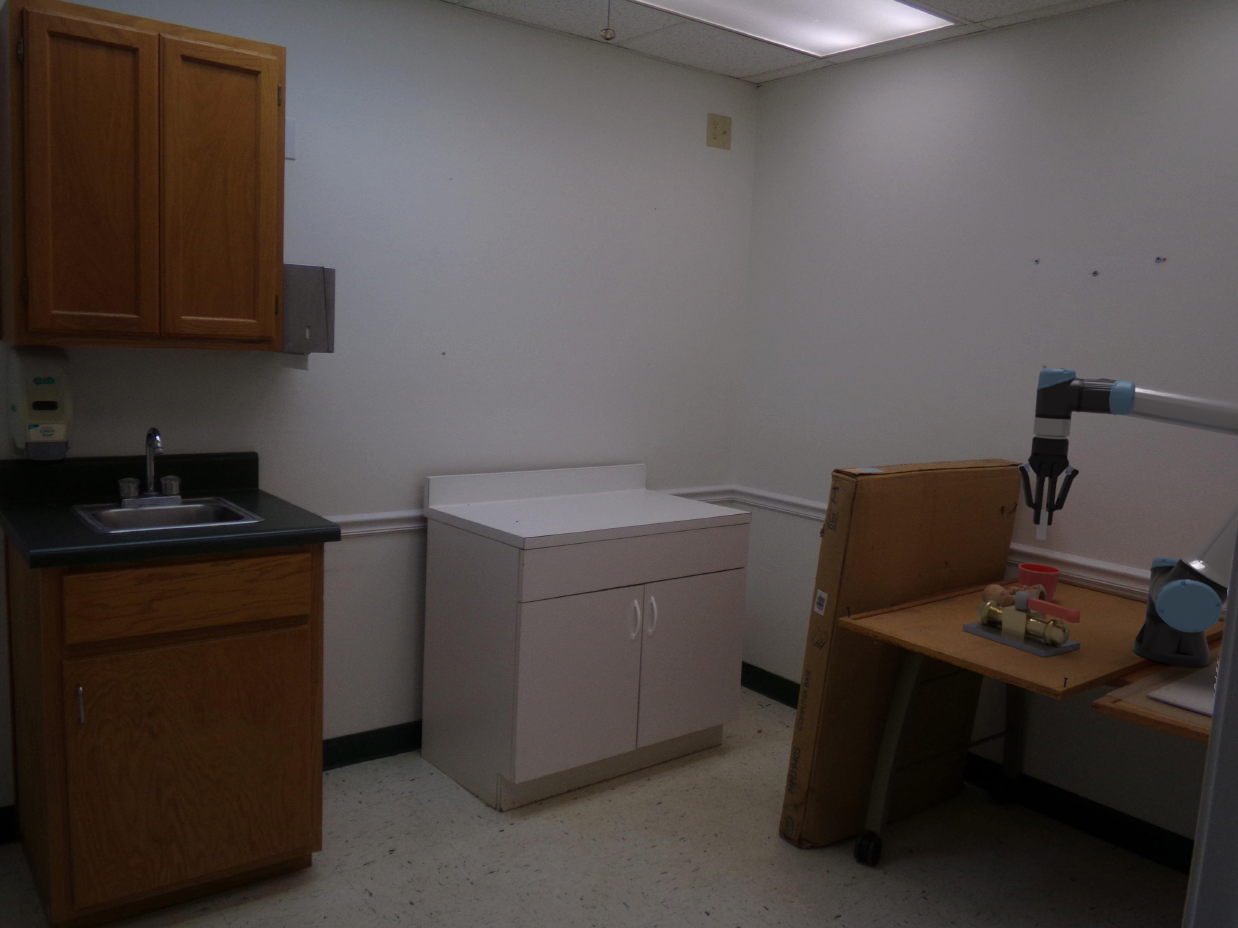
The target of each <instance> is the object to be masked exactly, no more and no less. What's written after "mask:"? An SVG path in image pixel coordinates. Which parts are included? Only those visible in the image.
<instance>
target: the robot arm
mask: <svg viewBox="0 0 1238 928" xmlns="http://www.w3.org/2000/svg"><path fill="white" fill-rule="evenodd" d="M1038 374H1039V376H1038V383H1037V388H1036V399H1035V400H1036V401H1035V410H1034V411H1035V412H1034V413H1035V414H1034V420H1033V421H1034V423H1033V431H1032V434H1033V435H1035V436H1033V437H1032V440H1031V441H1032V442H1031V450H1030V455H1029V458H1028V459H1027V462H1024V463H1023V464H1018V465H1017V466H1016V468H1017V470H1018V472H1019V474H1020V477H1021V483H1022V490H1023V495H1024V500H1025V501H1024V502H1025V505H1026V506H1027V507H1028V508H1030V509H1033V516H1032V523H1033V524H1034V525H1036V532H1035V533H1036V536H1035V537H1036V539H1037V540H1039V541H1040V540H1041V541H1046V539H1047V530H1048V526H1052V525H1053V518H1054V517H1053V516H1054V512H1056V511H1062V510H1063V507H1064V506H1065V503H1066V500H1067V498H1068V495H1069V492H1070V489H1071V487H1072V484H1073V482H1074V480H1075V478H1077V476H1078V475H1079V473H1080V471H1079V469H1077V468H1075V467H1073V466H1072V465H1071V464H1070V460H1069V459H1068V455H1069V445H1070V440H1069V439H1068V438H1067V437H1070V434H1071V425H1072V423H1071V422H1072V414H1073V412H1074V413H1075V412H1076V413H1088V414H1089V413H1090V414H1102V415H1103V414H1104V415H1105V414H1106V415H1113V416H1117V415H1118V416H1124V417H1130V418H1136V419H1142V420H1147V421H1152V422H1158V423H1163V424H1167V425H1168V424H1169V425H1174V426H1179V427H1185V428H1190V429H1195V430H1199V431H1200V430H1202V431H1206V432H1211V433H1212V432H1213V433H1218V434H1222V435H1223V434H1224V435H1227V436H1235V437H1238V400H1232V399H1226V398H1221V397H1216V396H1215V397H1214V396H1209V395H1203V394H1202V395H1201V394H1196V393H1192V392H1184V391H1178V390H1172V389H1166V388H1159V387H1154V386H1148V385H1143V384H1137V383H1135V382H1134V381H1131V380H1123V379H1110V378H1109V379H1108V378H1104V377H1103V378H1096V379H1095V378H1094V379H1091V378H1089V379H1088V378H1087V379H1086V378H1085V379H1084V378H1080V377H1079V378H1077V372H1076V370H1075V369H1070V368H1069V369H1065V368H1063V369H1062V368H1043V369H1042V370H1040V372H1039V373H1038ZM1030 468H1031V469H1030ZM1030 470H1032V471H1033V473H1034V474H1035V475H1036V477H1035V479H1036V481H1035V492H1034V499H1033V492H1032V487H1031V486H1032V485H1031V479H1030V475H1029V473H1030ZM1063 472H1065V477H1064V479H1063V482H1062V484H1061V487H1060V490H1059V492H1058V495H1057V497H1056V492H1057V484H1058V478H1059V477H1060V475H1062V474H1063ZM1046 478H1047V480H1048V483H1047V493H1046V502H1045V503H1046V505H1045V509H1043V499H1044V490H1045V483H1046ZM1237 514H1238V498H1236V500H1235V501H1234V502H1233V504H1232V505H1231V506H1230V507H1229V509H1228V510H1227V511H1226V513H1225V514H1224V515H1223V516H1222V518H1221V519H1220V520H1219V521H1218V523H1217V524H1216V526H1215V527H1214V528H1213V529H1212V531H1210V533H1209V534H1208V535H1207V537H1206V538H1205V539H1204V541H1203V542H1202V543H1201V544H1200V546H1199V547H1198V548H1197V550H1196V551H1195V552H1194V554H1192V555H1186V556H1181V557H1180V558H1173V557H1162V556H1161V557H1159V556H1158V557H1155V558H1153V560H1152V562H1151V567H1150V568H1149V569H1150V578H1149V587H1148V592H1147V594H1148V595H1147V603H1146V612H1145V620H1144V621H1143V623H1142V625H1141V627H1140V629H1139V631H1138V633H1137V635H1136V636H1135V639H1134V641H1133V652H1134V653H1135V654H1137V655H1139V656H1141V657H1143V658H1145V659H1148V660H1151V661H1155V662H1158V663H1161V664H1162V663H1163V664H1167V665H1172V666H1178V667H1187V668H1188V667H1189V668H1190V667H1192V668H1195V667H1196V668H1197V667H1198V668H1199V667H1205V666H1208V665H1209V664H1210V656H1211V655H1210V647H1209V645H1208V641H1207V637H1206V633H1205V631H1207V630H1208V629H1210V628H1212V627H1213V626H1215V624H1217V622H1218V621H1219V619H1220V617H1221V616H1222V611H1223V606H1224V605H1225V603H1226V602H1227V601H1226V599H1227V589H1228V581H1229V572H1230V567H1231V558H1232V553H1233V547H1234V539H1235V527H1236V517H1237Z"/></svg>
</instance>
